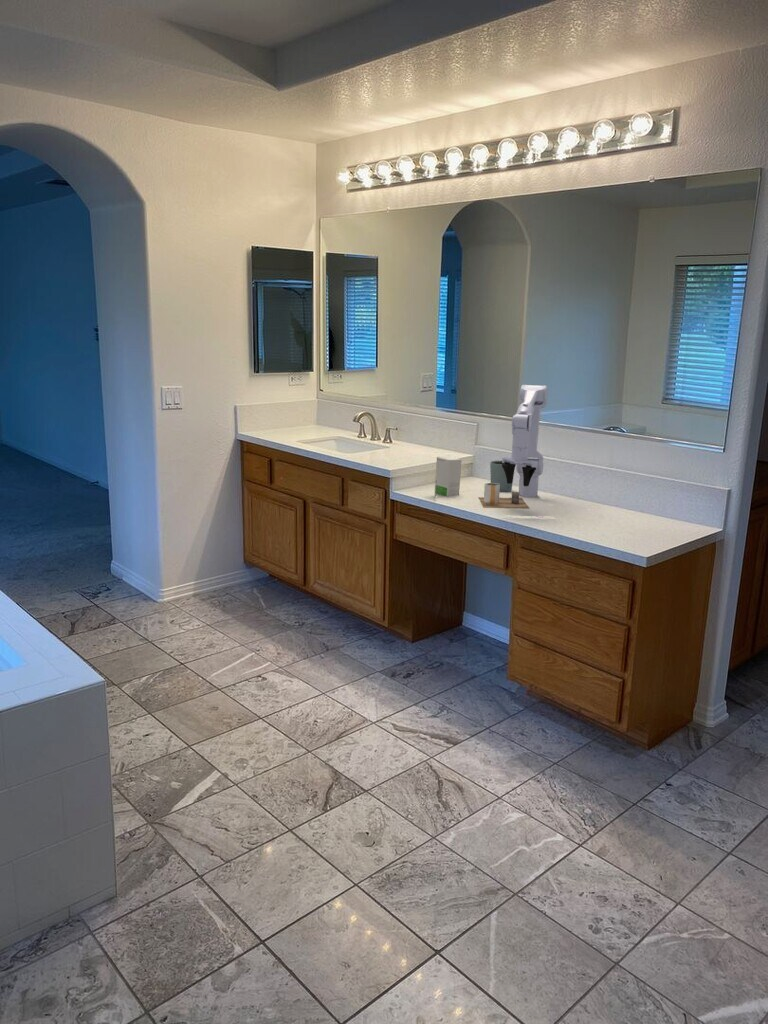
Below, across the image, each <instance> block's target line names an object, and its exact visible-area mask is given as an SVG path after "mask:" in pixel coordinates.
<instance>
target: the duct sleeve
mask: <svg viewBox="0 0 768 1024" xmlns="http://www.w3.org/2000/svg"><path fill="white" fill-rule="evenodd" d="M483 488H484V489H483V497H484V503H486V504H498V503H499V498H500V495H501V494H500V493H501V492H500V484H497V483H491V482H486V483H484V487H483Z"/></svg>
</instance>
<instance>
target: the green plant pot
mask: <svg viewBox="0 0 768 1024" xmlns="http://www.w3.org/2000/svg"><path fill="white" fill-rule="evenodd" d="M489 463H490V472H489V473H490V483H497V484H500V493H512V492H513V490H512V489H513V482H514V481H513V482H512V483H510V484H508V483H507V479H506V475H505V472H504V469H503V467H502V464H504V463H502V460H492V461H490V462H489ZM515 470H516V468H515V469H514V471H515ZM514 475H515V472H514V473H513V478H514Z"/></svg>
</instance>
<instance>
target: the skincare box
mask: <svg viewBox="0 0 768 1024" xmlns="http://www.w3.org/2000/svg"><path fill="white" fill-rule="evenodd" d="M462 461H463V459H462V458H458V457H456V456H453V455H452V456H451V455H441V456H436V461H435V462H436V463H435V464H436V465H435V466H436V467H435V479H434V480H435V481H434V496H437V495H440V496H445V497H454V496H459V495H460V487H461V485H460V484H461V473H462V472H461V471H462Z"/></svg>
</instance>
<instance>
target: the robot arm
mask: <svg viewBox="0 0 768 1024" xmlns="http://www.w3.org/2000/svg"><path fill="white" fill-rule="evenodd" d="M519 391H520V392H519V399H520V401H521V404H519V405H518V408H517V411H516V413H515V414H514V415H513V416H512V418H511V428H512V429H511V434H512V444H511V446H512V447H511V449H512V450H511V457H502V458H501V461H502V463H504V464H502V467H503V469H504V472H505V475H506V479H507V483H508V484H510V483H512V482H514V477H513V473H514V474H515V470H516V473H517V474H518V475H519V480H518V492H519V497H520V496H521V497H525V498H526V497H527V498H534V497H535V498H536V497H538V498H540V496H539V491H538V490H539V479H540V476H541V475H542V474H543V471H544V456H543V454H542V453H541V452H539V450H538V440H539V427H540V415H541V411H542V409H544V408H546V407H547V405H548V404H547V403H548V396H549V395H548V394H549V393H548V386H547V385H536V384H535V385H532V384H522V385H521V387H520V390H519ZM514 469H515V470H514ZM512 484H513V483H512Z"/></svg>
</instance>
